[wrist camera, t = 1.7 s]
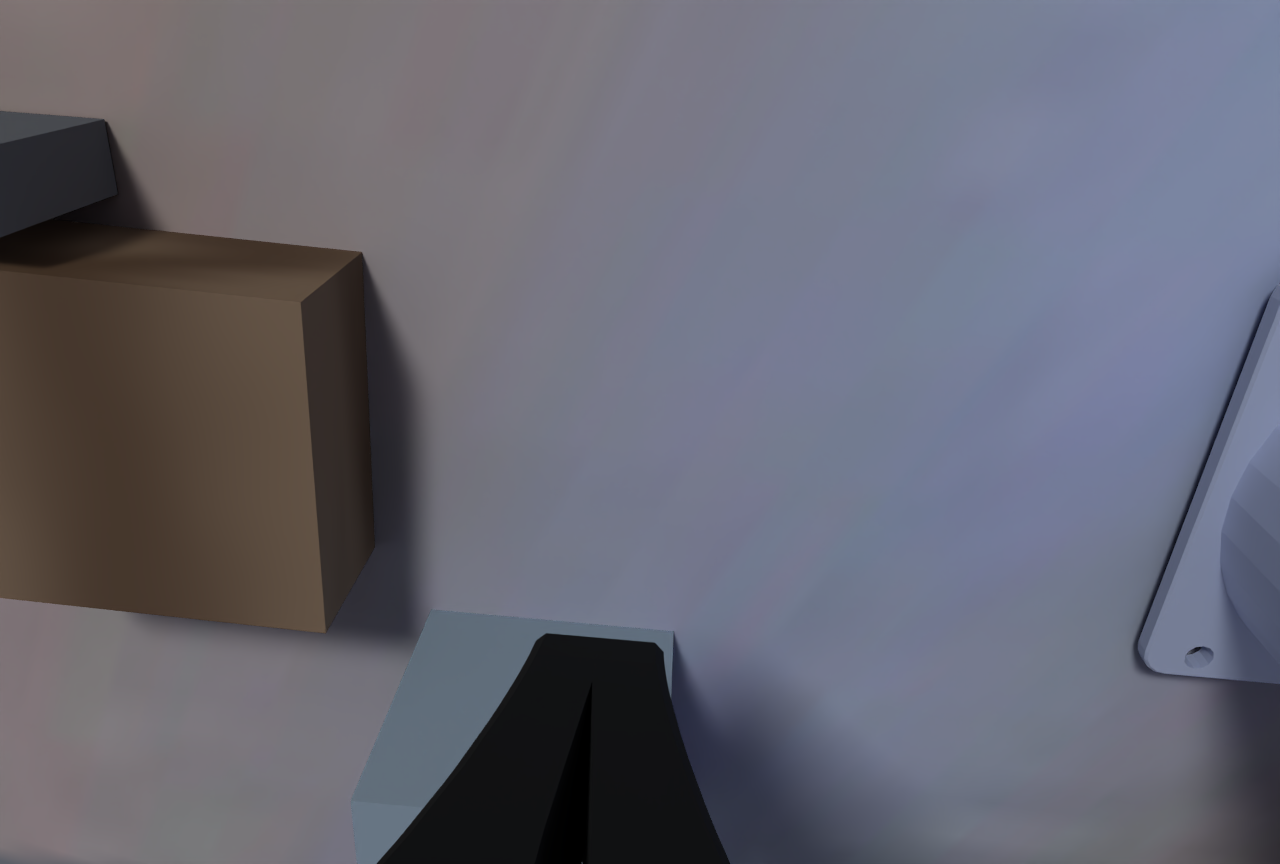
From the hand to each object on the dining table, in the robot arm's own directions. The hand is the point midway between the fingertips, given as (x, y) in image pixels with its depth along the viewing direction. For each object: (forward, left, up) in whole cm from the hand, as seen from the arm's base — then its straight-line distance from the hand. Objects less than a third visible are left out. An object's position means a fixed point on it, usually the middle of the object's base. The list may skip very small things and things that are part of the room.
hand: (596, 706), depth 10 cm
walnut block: (+8, 0, -8) cm, 11 cm away
